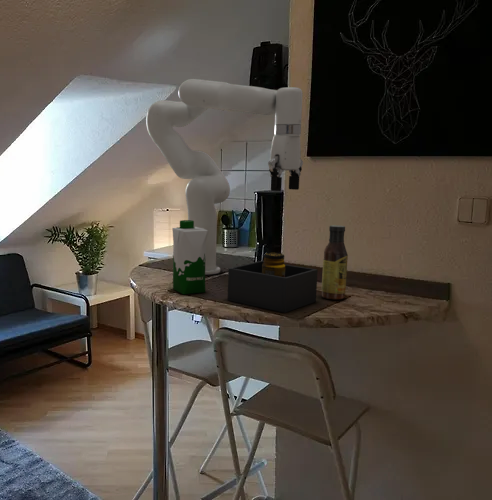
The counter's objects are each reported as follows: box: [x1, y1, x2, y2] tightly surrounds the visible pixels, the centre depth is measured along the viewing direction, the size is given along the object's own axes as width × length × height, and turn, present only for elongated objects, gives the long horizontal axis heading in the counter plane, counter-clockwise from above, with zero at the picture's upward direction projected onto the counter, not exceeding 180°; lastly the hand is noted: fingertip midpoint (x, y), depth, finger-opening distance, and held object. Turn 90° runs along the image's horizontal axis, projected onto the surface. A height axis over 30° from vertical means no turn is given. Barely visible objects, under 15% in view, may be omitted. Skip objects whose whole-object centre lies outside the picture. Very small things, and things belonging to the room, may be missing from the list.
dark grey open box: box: [227, 260, 319, 314], centre depth 155 cm, size 18×16×9 cm
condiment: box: [262, 252, 286, 277], centre depth 154 cm, size 7×8×12 cm
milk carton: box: [172, 219, 208, 295], centre depth 165 cm, size 9×9×20 cm
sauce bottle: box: [321, 224, 349, 301], centre depth 158 cm, size 6×6×20 cm
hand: (285, 190), depth 173 cm, fingers open, 9 cm apart
